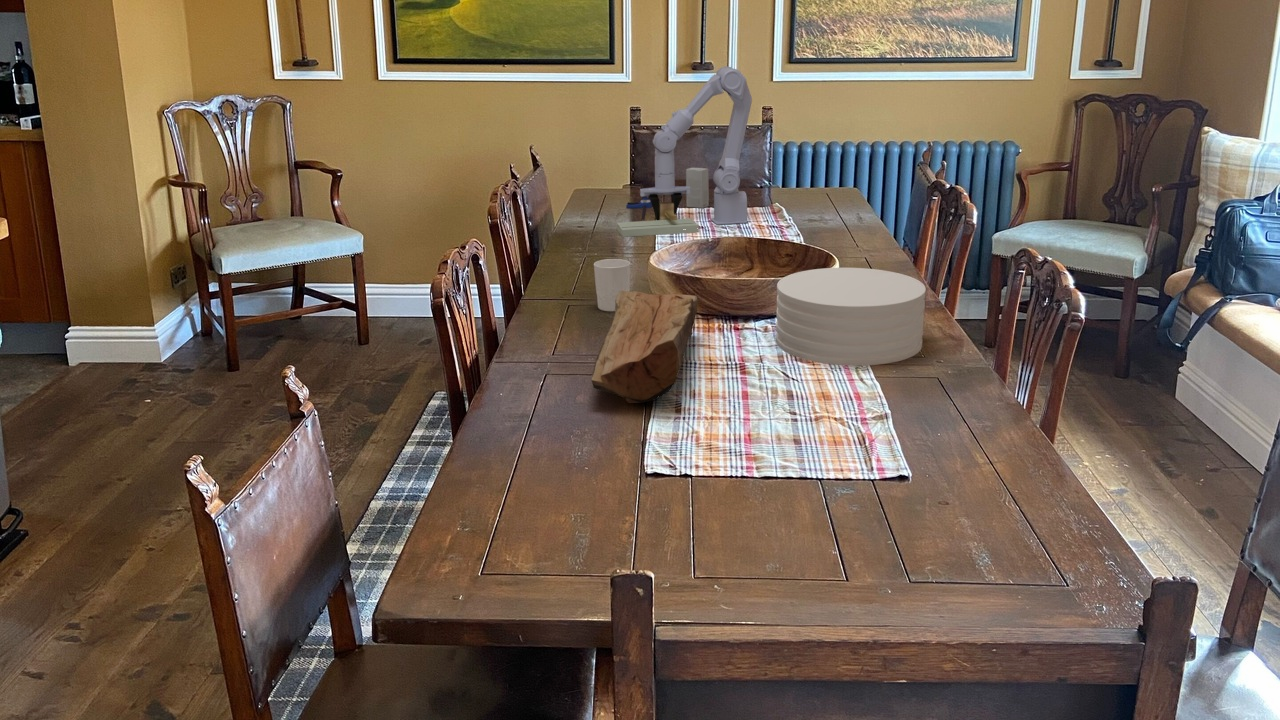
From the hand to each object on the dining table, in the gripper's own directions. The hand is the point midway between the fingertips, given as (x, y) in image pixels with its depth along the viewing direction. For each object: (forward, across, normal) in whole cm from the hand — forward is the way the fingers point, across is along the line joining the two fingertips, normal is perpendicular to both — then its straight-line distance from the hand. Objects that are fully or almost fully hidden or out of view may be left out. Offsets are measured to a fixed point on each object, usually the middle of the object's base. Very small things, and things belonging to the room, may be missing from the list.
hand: (665, 219), depth 316 cm
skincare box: (+2, -15, -24) cm, 28 cm away
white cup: (+2, +28, +81) cm, 86 cm away
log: (+2, +28, +122) cm, 125 cm away
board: (+2, +4, +7) cm, 9 cm away
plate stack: (+2, -13, +116) cm, 117 cm away
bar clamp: (+2, +4, -20) cm, 20 cm away
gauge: (+2, 0, +4) cm, 5 cm away
